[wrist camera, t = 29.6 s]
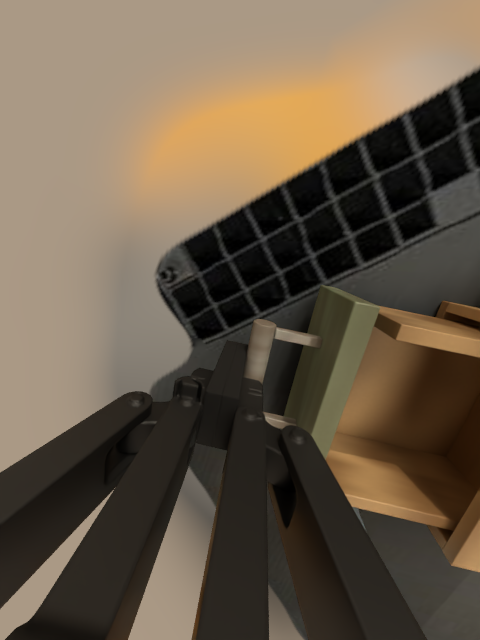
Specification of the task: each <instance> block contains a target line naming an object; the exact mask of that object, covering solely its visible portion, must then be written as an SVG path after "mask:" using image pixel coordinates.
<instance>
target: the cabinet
mask: <svg viewBox="0 0 480 640" xmlns="http://www.w3.org/2000/svg"><path fill="white" fill-rule="evenodd" d="M435 318H440V319H445V320H450V321H455V322H460V323H465V324H469V325H474V326H479V327H480V308H477V307H472V306H467V305H463V304H458V303H453V302H448V301H442V303H441V305H440V308H439V310H438V312H437V315H436V317H435ZM426 525H427V524H426ZM427 526H428V528H429V530H430V531H431V533H432V535H433V536H434V538H435V540H436V541H437V543H438V544H439V546H440V548H441V549H442V551H443V553H444V555H445V556H446V558H447V560H448V561H449V563H450V565H452V566H456V567H460V568H464V569H468V570H472V571H477V572H480V488H479V490H478V492H477V493H476V495H475V497H474V498H473V500H472V502H471V503H470V505H469V507H468V508H467V510H466V512H465V513H464V515H463V517H462V518H461V520H460V522H459V523H458V525H457V527H456V528H455V530H454V531H452V530H448V529H444V528H440V527H435V526H431V525H427Z"/></svg>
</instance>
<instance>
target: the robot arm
mask: <svg viewBox="0 0 480 640" xmlns="http://www.w3.org/2000/svg"><path fill="white" fill-rule="evenodd" d="M247 349H248V345H246V344H242V343H237V342H233V341H228V340H227V342H226V344H225V346H224V349H223V351H222V353H221V356H220V358H219V360H218V363H217V365H216V368H215V370H214V371H211V370H207V369H202V368H199V369H197V370H195V371H194V372H193V373H192V375H191V377H190V376H187V377H181V378H178V379H177V380H176V381H175V385H174V392H173V398H172V399H171V401H168V402H152V400H153V399H152V397H151V395H149V394H147V393H144V392H137V391H135V392H129V393H127V394H124V395H123V396H121V397H120V398H118V399H116V400H115V401H113V402H111V403H110V404H108V405H107V406H105V407H104V408H102V409H100V410H99V411H97V412H96V413H94V414H92V415H91V416H89V417H88V418H86V419H85V420H83V421H81V422H80V423H78V424H77V425H75V426H73V427H72V428H70V429H69V430H67V431H66V432H64V433H62V434H61V435H59V436H58V437H56V438H54V439H53V440H51V441H50V442H48V443H47V444H45V445H43V446H42V447H40V448H39V449H37V450H35V451H34V452H32V453H31V454H29V455H28V456H26V457H24V458H23V459H21V460H20V461H18V462H16V463H15V464H13V465H12V466H10V467H9V468H7V469H6V470H4V471H2V472H1V473H0V608H2V606H3V605H4V604H5V603H6V602H7V601H8V600H9V599H10V598H11V597H12V596H13V595H14V594H15V593H16V591H18V589H19V588H20V587H21V586H22V585H23V584H24V583H25V582H26V581H27V580H28V579H29V578H30V577H31V576H32V575H33V574H34V573H35V572H36V571H37V569H39V567H40V566H41V565H42V564H43V563H44V562H45V561H46V560H47V559H48V558H49V557H50V556H51V555H52V554H53V553H54V552H55V550H57V549H58V547H59V546H60V545H61V544H62V543H63V542H64V541H65V540H66V539H67V538H68V537H69V536H70V535H71V534H72V533H73V531H74V530H76V528H77V527H78V526H79V525H80V524H81V523H82V522H83V521H84V520H85V519H86V518H87V517H88V516H89V515H90V514H91V513H92V511H94V510H95V508H96V507H97V506H98V505H99V504H100V503H101V502H102V501H103V500H104V499H105V498H106V497H107V496H108V495H109V494H110V492H112V490H114V491H113V493H112V494H111V496H110V497H109V499H108V500H107V502H106V504H105V505H104V507H103V508H102V510H101V512H100V513H99V515H98V516H97V518H96V519H95V521H94V523H93V524H92V526H91V527H90V529H89V531H88V532H87V534H86V535H85V537H84V538H83V540H82V541H81V543H80V545H79V546H78V548H77V549H76V551H75V552H74V554H73V556H72V557H71V559H70V561H69V562H68V564H67V565H66V567H65V568H64V570H63V571H62V573H61V575H60V576H59V578H58V579H57V581H56V582H55V584H54V586H53V587H52V589H51V590H50V592H49V594H48V595H47V597H46V598H45V600H44V601H43V603H42V605H41V606H40V607H39V609H38V610H37V612H36V613H35V615H34V616H33V617H32V618H31V619H30V620H29V621H28V622H27V623H25V624H23V625H21V626H19V627H17V628H16V629H15V630H14V631H13V632H12V633H11V634H10V635H9V636H8V637H7V638H6V639H5V640H128V637H129V635H130V632H131V629H132V626H133V623H134V620H135V617H136V615H137V612H138V609H139V606H140V603H141V600H142V598H143V595H144V592H145V589H146V586H147V583H148V580H149V578H150V574H151V572H152V569H153V566H154V563H155V560H156V557H157V555H158V552H159V549H160V546H161V543H162V541H163V538H164V535H165V532H166V529H167V526H168V523H169V521H170V518H171V515H172V512H173V509H174V506H175V503H176V501H177V498H178V495H179V492H180V489H181V486H182V484H183V481H184V478H185V475H186V472H187V469H188V466H189V464H190V461H191V458H192V455H193V452H194V446H195V442H196V443H198V444H202V445H206V446H211V447H215V448H219V449H223V450H227V454H226V459H225V463H224V468H223V472H222V473H223V475H222V480H221V485H220V491H219V496H218V501H217V507H216V512H215V518H214V523H213V528H212V533H211V539H210V544H209V550H208V555H207V561H206V566H205V571H204V576H203V582H202V587H201V592H200V598H199V603H198V608H197V614H196V619H195V625H194V630H193V635H192V640H269V614H268V613H269V611H268V542H267V483H268V489H269V493H270V497H271V501H272V505H273V508H274V512H275V516H276V520H277V523H278V527H279V531H280V535H281V538H282V542H283V546H284V550H285V554H286V557H287V561H288V565H289V569H290V572H291V576H292V580H293V584H294V587H295V591H296V595H297V599H298V603H299V606H300V610H301V614H302V618H303V621H304V625H305V629H306V633H307V636H308V640H427V639H426V637H425V635H424V633H423V631H422V630H421V628H420V626H419V624H418V623H417V621H416V619H415V617H414V616H413V614H412V612H411V610H410V608H409V607H408V605H407V603H406V601H405V600H404V598H403V596H402V594H401V593H400V591H399V589H398V587H397V586H396V584H395V582H394V580H393V578H392V577H391V575H390V573H389V571H388V570H387V568H386V566H385V564H384V563H383V561H382V559H381V557H380V555H379V554H378V552H377V550H376V548H375V547H374V545H373V543H372V541H371V540H370V538H369V536H368V534H367V533H366V531H365V529H364V527H363V525H362V524H361V522H360V520H359V518H358V517H357V515H356V513H355V511H354V510H353V508H352V506H351V504H350V502H349V501H348V499H347V497H346V495H345V494H344V492H343V490H342V488H341V487H340V485H339V483H338V481H337V480H336V478H335V476H334V474H333V472H332V471H331V469H330V467H329V465H328V464H327V462H326V460H325V458H324V457H323V455H322V453H321V451H320V449H319V448H318V446H317V444H316V442H315V441H314V439H313V437H312V436H311V435H310V433H308V432H307V431H306V430H304V429H303V428H300V427H298V426H293V425H290V426H286V427H284V428H283V430H280V429H277V428H275V427H274V426H272V425H270V424H269V423H268V422H267V421H266V418H265V415H264V413H263V385H262V384H261V382H260V381H259V380H255V379H250V378H246V377H243V373H244V367H245V361H246V355H247ZM196 439H197V441H196ZM115 487H116V488H115ZM114 488H115V489H114Z"/></svg>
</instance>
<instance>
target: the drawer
mask: <svg viewBox="0 0 480 640" xmlns="http://www.w3.org/2000/svg"><path fill="white" fill-rule="evenodd" d="M273 338H274V339H278V340H283V341H287V342H292V343H297V344H301V345H304V346H303V349H302V353H301V356H300V360H299V363H298V367H297V370H296V374H295V377H294V381H293V384H292V388H291V391H290V395H289V398H288V402H287V405H286V409H285V412H284V416H280V415H275V414H271V413H266V412H263V413H264V415H265V418H266V421H267V422H268V423H269V424H270V425H272V426H274V427H276V428H281V430H283V428H284V427H286V426H290V425H293V426H298V427H300V428H303V429H304V430H306V431H307V432H308V433H310V435H311V436H312V437H313V439H314V441H315V442H316V444H317V446H318V448H319V449H320V451H321V453H322V455H323V457H324V458H325V460H326V462H327V464H328V465H329V467H330V469H331V471H332V472H333V474H334V476H335V478H336V480H337V481H338V483H339V485H340V487H341V488H342V490H343V492H344V494H345V495H346V497H347V499H348V501H349V502H350V504H351V506H352V507H355V508H360V509H364V510H368V511H372V512H376V513H381V514H385V515H389V516H393V517H398V518H402V519H406V520H410V521H414V522H419V523H423V524H427V525H431V526H435V527H440V528H444V529H448V530H452V531H454V530H455V528H456V527H457V525H458V523H459V522H460V520H461V518H462V517H463V515H464V513H465V512H466V510H467V508H468V507H469V505H470V503H471V502H472V500H473V498H474V497H475V495H476V493H477V492H478V490H479V488H480V327H479V326H474V325H469V324H465V323H460V322H455V321H450V320H445V319H440V318H435V317H431V316H426V315H421V314H416V313H411V312H406V311H402V310H397V309H392V308H387V307H382V306H377V305H375V304H373V303H370V302H368V301H366V300H363V299H361V298H359V297H356V296H354V295H352V294H349V293H347V292H345V291H342V290H340V289H337V288H334V287H329V286H324V285H321V286H320V290H319V293H318V297H317V300H316V304H315V307H314V311H313V314H312V318H311V321H310V325H309V328H308V332H307V333H302V332H297V331H292V330H288V329H283V328H278V327H276V324H275V323H273V322H271V321H268V320H263V319H255V320H254V322H253V326H252V331H251V335H250V340H249V344H248V349H247V355H246V361H245V367H244V373H243V377H246V378H250V379H255V380H259V381H260V382H261V384H262V383H263V379H264V375H265V371H266V367H267V363H268V359H269V355H270V351H271V346H272V342H273Z"/></svg>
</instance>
